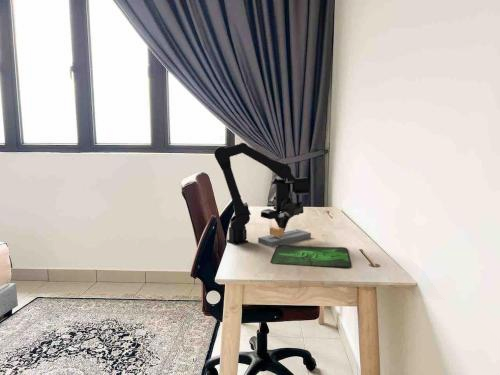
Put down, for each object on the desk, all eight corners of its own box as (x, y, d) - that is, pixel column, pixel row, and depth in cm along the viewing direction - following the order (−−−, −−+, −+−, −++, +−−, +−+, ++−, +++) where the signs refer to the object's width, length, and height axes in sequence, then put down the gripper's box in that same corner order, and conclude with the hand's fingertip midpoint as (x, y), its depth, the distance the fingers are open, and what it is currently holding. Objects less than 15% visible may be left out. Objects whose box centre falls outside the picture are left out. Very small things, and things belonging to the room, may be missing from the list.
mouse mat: (268, 265, 128) (268, 262, 128) (276, 246, 149) (276, 243, 149) (352, 269, 123) (352, 266, 123) (347, 249, 144) (347, 247, 144)
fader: (277, 238, 150) (277, 229, 150) (269, 235, 154) (269, 227, 153) (283, 236, 152) (283, 228, 152) (275, 234, 156) (275, 225, 155)
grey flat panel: (271, 247, 146) (271, 241, 146) (258, 242, 153) (258, 237, 152) (310, 237, 160) (310, 232, 159) (297, 233, 166) (297, 228, 166)
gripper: (278, 200, 140) (278, 240, 143) (313, 194, 152) (312, 232, 154) (259, 196, 149) (260, 234, 151) (294, 191, 160) (293, 227, 163)
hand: (282, 232), depth 155 cm, fingers closed
